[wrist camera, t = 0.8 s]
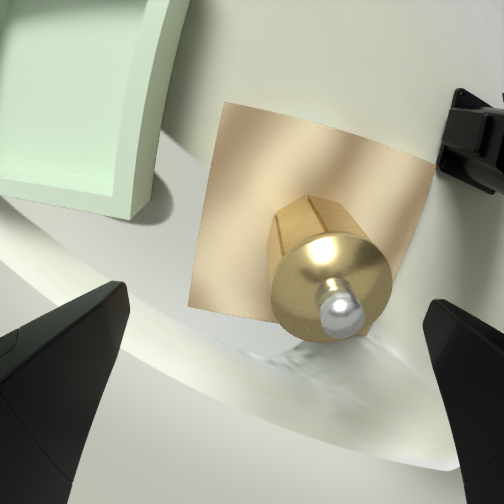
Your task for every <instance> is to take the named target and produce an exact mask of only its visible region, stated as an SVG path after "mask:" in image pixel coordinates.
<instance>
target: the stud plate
mask: <svg viewBox="0 0 504 504" xmlns="http://www.w3.org/2000/svg"><path fill="white" fill-rule="evenodd" d="M435 170H436V165H434V164H432V163H429V162H427V161H425V160H422V159H420V158H417V157H415V156H412V155H410V154H407V153H405V152H402V151H399V150H397V149H394V148H391V147H389V146H386V145H383V144H380V143H377V142H375V141H372V140H369V139H366V138H363V137H360V136H357V135H354V134H351V133H347V132H344V131H341V130H338V129H334V128H331V127H328V126H324V125H321V124H317V123H314V122H310V121H306V120H303V119H299V118H295V117H291V116H287V115H283V114H279V113H275V112H270V111H266V110H261V109H257V108H252V107H247V106H242V105H237V104H232V103H227V102H224V106H223V110H222V115H221V119H220V124H219V129H218V134H217V138H216V143H215V148H214V153H213V158H212V163H211V168H210V174H209V179H208V184H207V190H206V196H205V201H204V206H203V212H202V218H201V223H200V229H199V236H198V242H197V248H196V255H195V261H194V267H193V274H192V281H191V287H190V295H189V301H188V307H193V308H198V309H203V310H208V311H213V312H218V313H223V314H229V315H233V316H239V317H244V318H250V319H256V320H261V321H267V322H273V323H279V322H278V321H277V319H276V318H275V315H274V313H273V310H272V306H271V298H270V280H269V268H268V257H267V245H266V243H267V239H268V235H269V232H270V228H271V224H272V220H273V216H274V214H275V215H277V213H276V211H278V210H280V209H281V208H283V207H285V206H286V205H288V204H290V203H292V202H293V201H295V200H297V199H298V198H300V197H302V196H304V195H305V197H306V198H307V196H308V195H312V196H316V197H320V198H324V199H328V200H332V201H336V202H339V203H340V204H341V205H342V206H343V207H344V208H345V209H346V211H347V212H348V213H349V214H350V215H351V217H352V218H353V219H354V220H355V221H356V223H357V224H358V225H359V226H360V228H361V229H362V230H363V231H364V233H365V234H366V235H367V236H368V238H369V239H370V240H371V241H372V242H373V243H374V244H375V245H376V246H377V247H378V249H379V250H380V251H381V252H382V254H383V255H384V256H385V258H386V259H387V261H388V263H389V266H390V269H391V272H392V282H393V280H394V278H395V276H396V273H397V271H398V269H399V266H400V264H401V262H402V259H403V257H404V255H405V252H406V250H407V247H408V245H409V242H410V240H411V237H412V235H413V232H414V230H415V227H416V225H417V222H418V219H419V217H420V214H421V211H422V208H423V206H424V203H425V200H426V197H427V194H428V191H429V188H430V185H431V182H432V179H433V176H434V173H435ZM372 324H373V323H372ZM372 324H371V325H370V326H369V327H367V328H366V329H365V330H363V331H362V332H360V333H358V334H357V335H363V336H366V335H367V333H368V332H369V330H370V328H371V326H372Z"/></svg>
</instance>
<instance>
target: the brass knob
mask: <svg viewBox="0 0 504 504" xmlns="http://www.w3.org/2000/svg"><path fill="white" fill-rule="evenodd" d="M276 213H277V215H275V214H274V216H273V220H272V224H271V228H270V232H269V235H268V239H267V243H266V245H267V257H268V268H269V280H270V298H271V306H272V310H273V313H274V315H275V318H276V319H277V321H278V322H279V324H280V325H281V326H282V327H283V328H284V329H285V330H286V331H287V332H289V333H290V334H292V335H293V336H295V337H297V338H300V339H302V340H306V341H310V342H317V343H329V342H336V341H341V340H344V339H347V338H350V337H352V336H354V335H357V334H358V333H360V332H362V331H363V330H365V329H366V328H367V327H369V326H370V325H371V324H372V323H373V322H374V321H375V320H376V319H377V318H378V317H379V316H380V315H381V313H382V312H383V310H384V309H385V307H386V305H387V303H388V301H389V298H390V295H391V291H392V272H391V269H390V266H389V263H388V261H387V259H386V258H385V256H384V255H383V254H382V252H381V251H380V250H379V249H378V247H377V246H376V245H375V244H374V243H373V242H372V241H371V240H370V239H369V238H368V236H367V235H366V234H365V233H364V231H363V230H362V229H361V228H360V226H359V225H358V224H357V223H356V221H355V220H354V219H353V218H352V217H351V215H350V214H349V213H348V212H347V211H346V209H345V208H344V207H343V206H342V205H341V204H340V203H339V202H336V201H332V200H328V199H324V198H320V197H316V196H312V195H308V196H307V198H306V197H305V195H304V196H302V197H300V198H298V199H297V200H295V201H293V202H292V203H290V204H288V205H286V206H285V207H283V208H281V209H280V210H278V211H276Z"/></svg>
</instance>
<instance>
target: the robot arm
mask: <svg viewBox="0 0 504 504" xmlns="http://www.w3.org/2000/svg"><path fill="white" fill-rule="evenodd" d="M460 92H461V93H462V98H461V97H460ZM502 96H503V102H504V93H502ZM443 162H444V167H443V168H442V163H443ZM436 166H437V169H438V170H439V171H442V172H444V173H446V174H448V175H451V176H453V177H455V178H457V179H460V180H462V181H464V182H466V183H468V184H470V185H472V186H474V187H477V188H479V189H481V190H483V191H485V192H487V193H489V194H491V195H493V194H494V193H495V192H496V191H497V192H499V193H501V194H503V195H504V109H497V108H493V107H492V106H490V105H489V104H487V103H486V102H484V101H482V100H481V99H479V98H478V97H476V96H475V95H473V94H471V93H470V92H468V91H466V90H465V89H463V88H457V89H456V90H455V92H454V97H453V101H452V106H451V109H450V110H449V114H448V118H447V122H446V126H445V130H444V134H443V138H442V145H441V148H440V152H439V155H438V159H437V162H436ZM490 189H491V190H490ZM129 314H130V304H129V298H128V292H127V286H126V284H125V283H124V282H119V281H110V282H108V283H106V284H104V285H102V286H100V287H98V288H96V289H94V290H92V291H90V292H88V293H86V294H84V295H82V296H80V297H78V298H76V299H74V300H72V301H70V302H68V303H66V304H64V305H62V306H60V307H58V308H56V309H54V310H52V311H50V312H48V313H46V314H44V315H43V316H41V317H39V318H37V319H35V320H33V321H31V322H29V323H27V324H25V325H23V326H21V327H20V328H19V329H15V330H14V331H12V332H10V333H8V334H6V335H4V336H2V337H0V504H67V502H68V498H69V495H70V491H71V488H72V482H73V480H74V477H75V474H76V470H77V467H78V464H79V461H80V458H81V454H82V451H83V448H84V445H85V442H86V439H87V436H88V433H89V430H90V428H91V425H92V422H93V419H94V416H95V414H96V411H97V408H98V405H99V403H100V400H101V397H102V394H103V392H104V389H105V387H106V384H107V381H108V379H109V376H110V374H111V371H112V369H113V366H114V364H115V361H116V358H117V355H118V352H119V349H120V345H121V342H122V338H123V335H124V331H125V328H126V324H127V321H128V317H129ZM423 331H424V335H425V339H426V343H427V347H428V351H429V355H430V359H431V363H432V367H433V371H434V374H435V377H436V380H437V383H438V386H439V389H440V393H441V396H442V399H443V402H444V406H445V409H446V413H447V416H448V420H449V423H450V427H451V431H452V435H453V438H454V442H455V447H456V451H457V455H458V459H459V464H460V469H461V473H462V478H463V483H464V490H465V495H466V502H467V504H504V334H503V333H502V332H500V331H498V330H497V329H495V328H493V327H492V326H490V325H488V324H487V323H485V322H483V321H481V320H480V319H478V318H476V317H475V316H473V315H471V314H469V313H468V312H466V311H464V310H462V309H461V308H459V307H457V306H455V305H454V304H452V303H450V302H448V301H446V300H444V299H434V300H432V302H431V303H430V305H429V308H428V311H427V313H426V316H425V318H424V321H423Z"/></svg>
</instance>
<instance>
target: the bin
mask: <svg viewBox="0 0 504 504" xmlns="http://www.w3.org/2000/svg"><path fill="white" fill-rule="evenodd" d="M189 4H190V0H0V195H2V196H7V197H12V198H17V199H23V200H28V201H33V202H38V203H43V204H49V205H54V206H59V207H64V208H69V209H75V210H80V211H85V212H90V213H95V214H100V215H105V216H110V217H115V218H120V219H125V220H131V219H132V218H133V217H134V216H135V215H136V214H137V213H138V212H139V211H140V210H141V209H142V208H143V207H144V206H145V205H146V204H147V203H148V202H149V201H150V200H151V191H152V183H153V176H154V168H155V161H156V154H157V148H158V142H159V136H160V130H161V124H162V118H163V113H164V108H165V102H166V97H167V92H168V88H169V83H170V78H171V74H172V69H173V65H174V60H175V56H176V52H177V48H178V44H179V40H180V36H181V32H182V28H183V25H184V21H185V18H186V14H187V10H188V7H189Z"/></svg>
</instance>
